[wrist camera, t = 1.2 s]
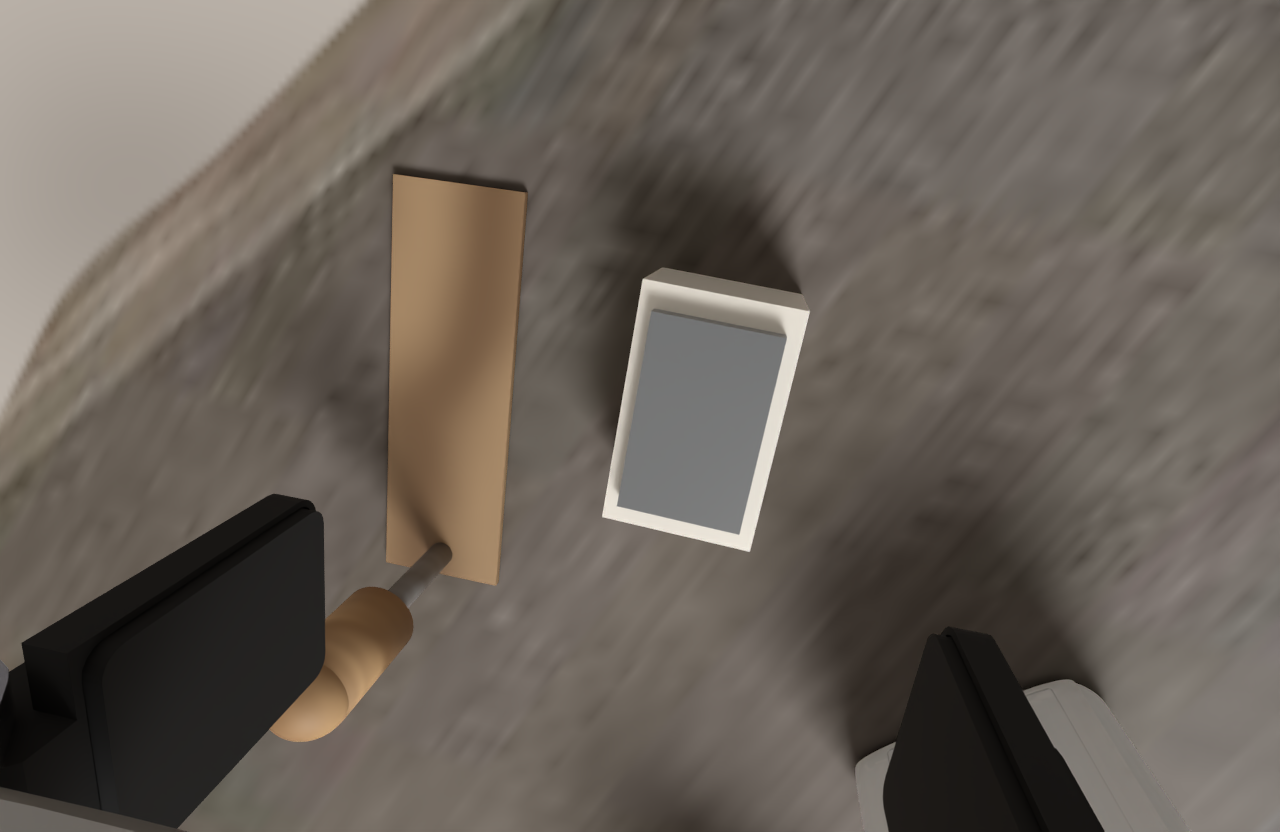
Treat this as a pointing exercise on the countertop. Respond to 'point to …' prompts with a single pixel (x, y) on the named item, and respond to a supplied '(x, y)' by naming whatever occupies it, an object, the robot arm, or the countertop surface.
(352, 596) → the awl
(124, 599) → the robot arm
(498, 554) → the strip
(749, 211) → the countertop surface
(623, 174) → the countertop surface
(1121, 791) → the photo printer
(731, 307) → the white and grey block
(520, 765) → the countertop surface
